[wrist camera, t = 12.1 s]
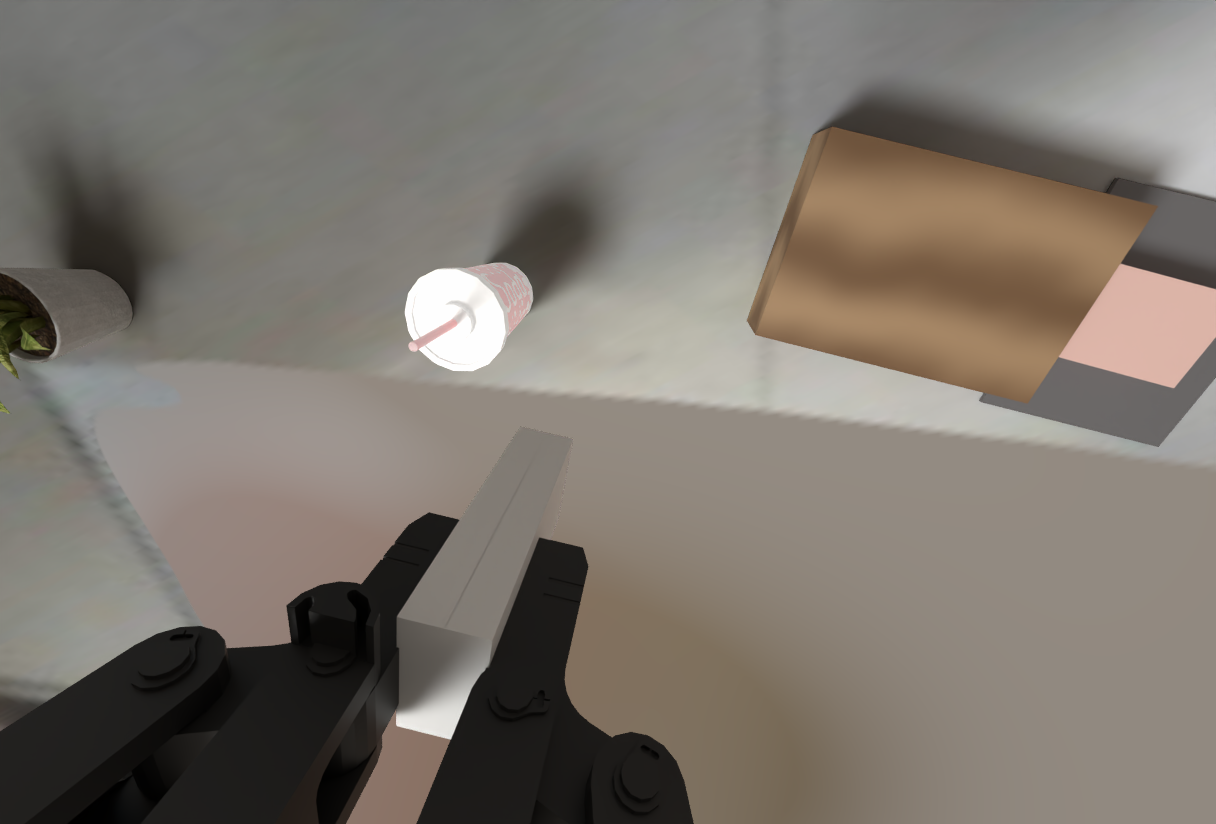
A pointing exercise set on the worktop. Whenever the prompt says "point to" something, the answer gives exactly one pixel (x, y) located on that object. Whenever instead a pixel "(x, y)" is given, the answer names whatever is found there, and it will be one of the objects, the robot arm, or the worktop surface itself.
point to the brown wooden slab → (938, 263)
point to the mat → (1122, 405)
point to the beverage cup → (466, 313)
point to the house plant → (56, 312)
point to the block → (1146, 327)
